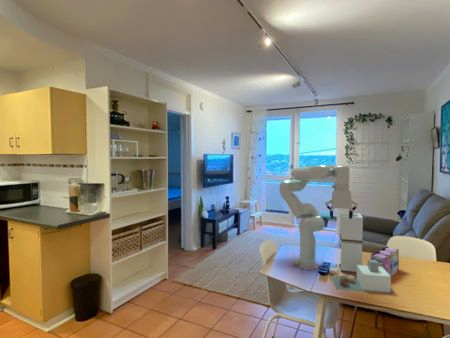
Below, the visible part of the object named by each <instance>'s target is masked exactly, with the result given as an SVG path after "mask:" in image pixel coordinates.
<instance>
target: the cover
mask: <svg viewBox="0 0 450 338" xmlns="http://www.w3.org/2000/svg"><path fill="white" fill-rule="evenodd" d="M355 278H356V279H357V281H358V283H359V284H360V286H361V287H362V289H363V290H368V291H379V292H390V289H391V287H392V286H391V284H392V281H391V280H392V276H390V275H389V274H388V273H387V272H386V271H385V269H384V268H383V267H381V266H378V262H377V261H376V260H371V259H367V265H366V264H362V265H357V274H356V277H355ZM391 290H392V289H391Z"/></svg>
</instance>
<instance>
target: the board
mask: <svg viewBox="0 0 450 338" xmlns="http://www.w3.org/2000/svg"><path fill="white" fill-rule="evenodd" d="M339 278H340V276H335V275H331V279H332V281H333V284H334V286H335V288H336V290H343V291H353V292H355V291H356V292H364V293H375V294H388V295H395V292H394V291H393V290H392V289H390V292H379V291H368V290H363V289H362V287H361V286H360V284H359V283H358V281H357V279H356V278H357V277H355V278H354V283H349V287H347V286H341V285H340V283H339Z"/></svg>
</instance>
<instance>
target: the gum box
mask: <svg viewBox="0 0 450 338" xmlns="http://www.w3.org/2000/svg"><path fill="white" fill-rule="evenodd" d="M399 251H400V249H399V248H397V249H395V248H392V247H391V248H390V247H389V246H385V247H383V248H380V249H379V250H377V251H375V252H372V253H371V254H370V260H376V261H377V262H378V266H381V267H383V268H384V269H385V271H386V272H387V273H388V274H389V275H390V276H391V277H392V276H393V275H395V274H396V273H398V272H399V269H400V268H399V267H400V264H399V263H400V258H399V257H400V256H399V255H400V254H399V253H400V252H399Z"/></svg>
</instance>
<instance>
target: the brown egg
mask: <svg viewBox="0 0 450 338" xmlns="http://www.w3.org/2000/svg"><path fill="white" fill-rule="evenodd" d="M346 276H347V277H348V278H349V283H354V278H356V276H354V275H352V274H348V275H346Z"/></svg>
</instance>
